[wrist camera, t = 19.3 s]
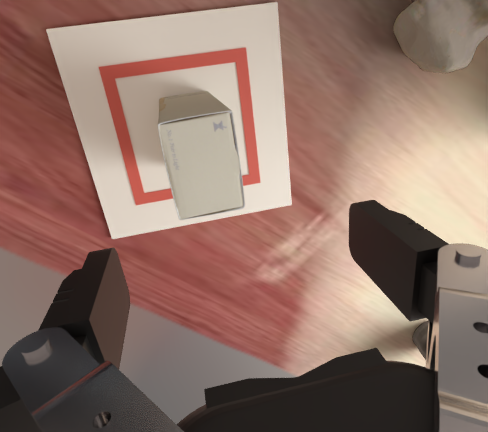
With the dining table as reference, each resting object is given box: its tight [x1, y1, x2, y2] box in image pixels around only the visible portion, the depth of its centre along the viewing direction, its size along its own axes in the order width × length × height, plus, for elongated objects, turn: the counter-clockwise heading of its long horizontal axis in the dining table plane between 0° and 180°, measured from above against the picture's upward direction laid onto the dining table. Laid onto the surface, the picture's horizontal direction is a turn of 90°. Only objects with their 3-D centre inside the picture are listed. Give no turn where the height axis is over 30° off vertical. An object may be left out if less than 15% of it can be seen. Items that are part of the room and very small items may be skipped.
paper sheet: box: [46, 2, 292, 239], centre depth 32 cm, size 18×18×1 cm
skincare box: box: [158, 91, 245, 220], centre depth 26 cm, size 6×4×12 cm
